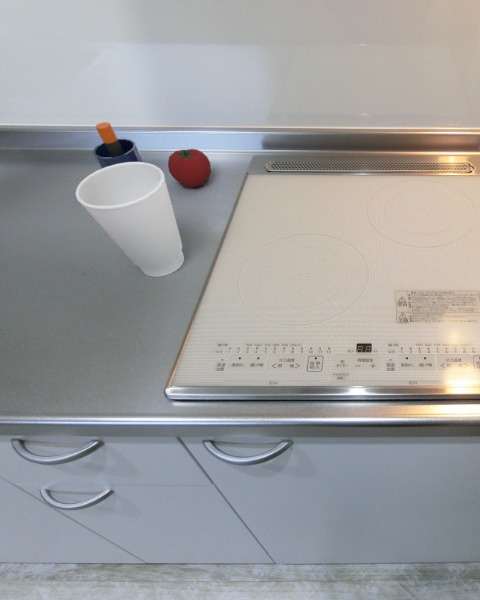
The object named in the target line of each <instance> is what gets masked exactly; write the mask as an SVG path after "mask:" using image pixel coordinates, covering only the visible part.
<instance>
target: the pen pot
mask: <svg viewBox="0 0 480 600" xmlns="http://www.w3.org/2000/svg"><path fill="white" fill-rule="evenodd" d="M117 139H118V141H119V143H120V145H121V147H122V149H123V151H124V153H125V154H123V155H120V156H116V157H111V155H110V153H109V151H108V149H107V147H106V146H105V144H104V142H103V141H102V142H101V143H99V144H98V145H96V146H95V147H94V148H93V150H92V155H93V157H94V159H95V160H96V162H97V164H98V166H99V168H100V169H102V168H105V167H108V166H111V165H115V164H120V163H126V162H144V163H146V162H145V161H144V158H143V156H142V154H141V151H140V149H139V148H138V145H137V143H136V142H135V141H134V140H132V139H129V138H117Z"/></svg>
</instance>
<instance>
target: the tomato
mask: <svg viewBox="0 0 480 600" xmlns="http://www.w3.org/2000/svg"><path fill="white" fill-rule="evenodd" d="M167 167H168V172H169V174H170V176H172V178H173V179H174V180H175V181H176V182H178V184H180V185H182V186H184V187H187V188H192V189H193V188H197V187H201V186H202V185H204V184H205V183H206V182H207V180H208V179H209V177H210V176H211V172H212V166H211V161H210V160H209V157H208V156H207V155H206V153H205V154H204V152H203V151H200V150H199V149H196V148H187V149H180V150H179V149H178V150H175V151H174V152H173V153H171V154H170V155H169V156H168V159H167Z"/></svg>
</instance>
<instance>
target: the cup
mask: <svg viewBox="0 0 480 600" xmlns="http://www.w3.org/2000/svg"><path fill="white" fill-rule="evenodd" d="M144 162H145V161H144ZM144 162H126V163H120V164H115V165H111V166H108V167H105V168H102V169H101V168H100V169H97V170H96V171H94V172H92V173H91V174H89V175H87V176H86V177H85V178H83V180H81V181H80V182H79V184H77V185H78V186H77V187H76V190H75V198H76V200H77V201H78V203H80V204H81V205H82V207H84V209H86V211H87V212H88V214H90V215H91V216H92V218H94V220H95V221H96V222H97V223H98V225H99V226H100V227H101V228H102V230H103V231H105V232H106V234H107V235H108V236H109V237H110V239H112V241H113V242H114V243H115V244H116V245H117V246H118V247H119V249H121V251H122V252H123V253H124V254H125V255H126V256H127V258H128V259H129V260H130V261H131V262H132V263H133V264H134V265H135V266H137V267H139V269H140V270H141V271H142V273H144V275H146V276H149V277H152V278H153V277H154V278H159V277H165V276H168V275H171V274H173V273H175V272H176V271H178V270H179V269H180V268H181V267H182V266H183V265H184V262H185V255H184V252H183V242H182V238H181V235H180V234H181V233H180V231H179V227H178V223H177V220H176V217H175V211H174V207H173V205H172V204H173V203H172V201H171V198H170V193H169V190H168V186H167V182H166V178H165V177H166V176H165V174H164V172H163V170H162V169H161V168H160V167H159V166H157V165H155V164H152V163H150V162H145V163H144Z"/></svg>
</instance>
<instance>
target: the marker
mask: <svg viewBox="0 0 480 600" xmlns="http://www.w3.org/2000/svg"><path fill="white" fill-rule="evenodd" d="M95 129H96V131H97V133H98V135H99V137H100V138H101V140H102V143H103V142H104V144H105V146H106V147H107V149H108V151H109V153H110V155H111V157H116V156H120V155H123V154H125V153H124V151H123V149H122V147H121V145H120V143H119V141H118V139H119V138H118V137H117V135H116V133H115V131H114V129H113V127H112V124H111V123H110V122H107V121H105V122H100V123H98V124H96V125H95Z"/></svg>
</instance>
